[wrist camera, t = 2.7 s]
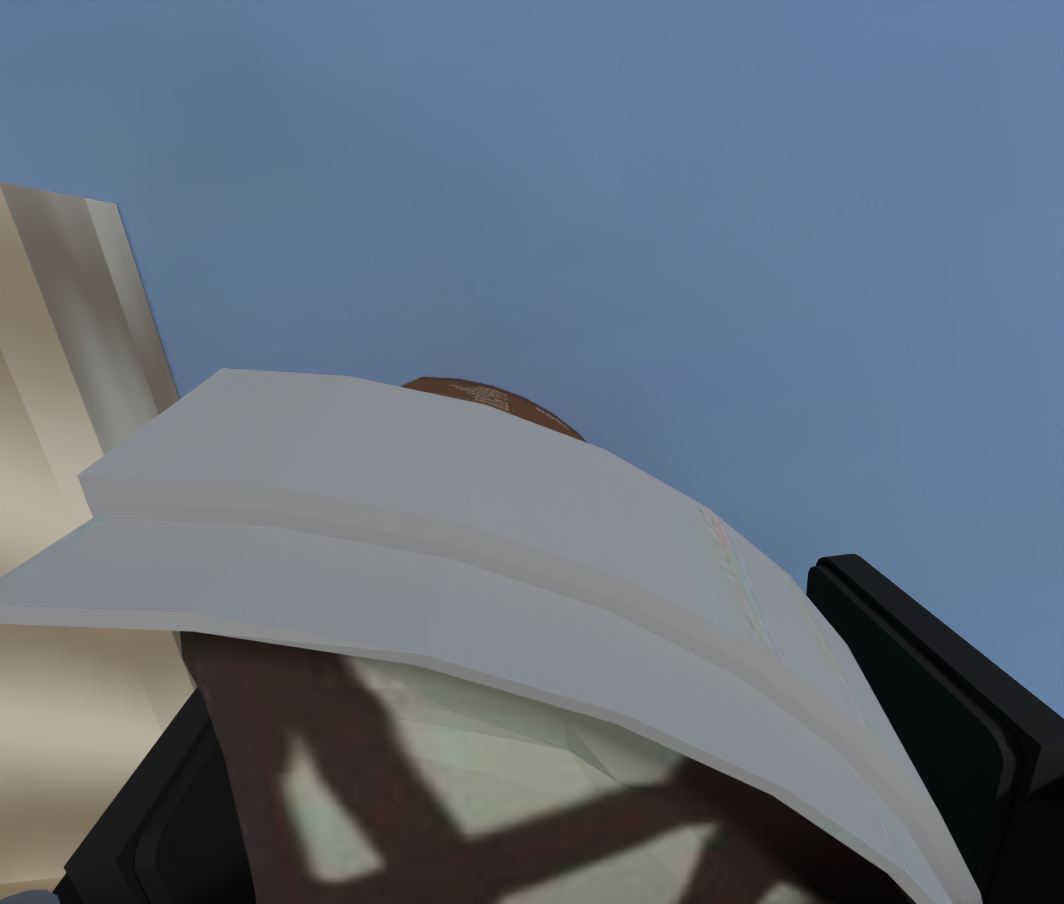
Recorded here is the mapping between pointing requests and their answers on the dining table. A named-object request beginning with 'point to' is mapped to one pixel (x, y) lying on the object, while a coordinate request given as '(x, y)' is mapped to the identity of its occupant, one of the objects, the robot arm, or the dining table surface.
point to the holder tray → (70, 524)
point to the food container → (488, 659)
